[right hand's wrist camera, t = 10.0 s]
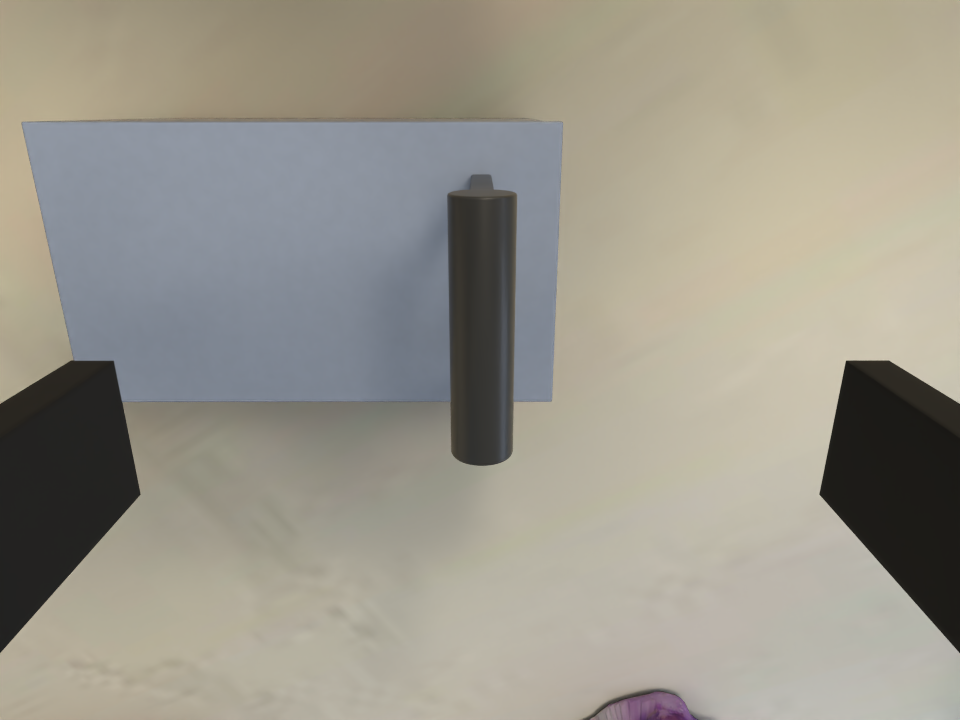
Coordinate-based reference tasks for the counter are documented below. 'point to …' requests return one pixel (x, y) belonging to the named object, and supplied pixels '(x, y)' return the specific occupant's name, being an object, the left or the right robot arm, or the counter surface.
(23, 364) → the counter surface
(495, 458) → the lid
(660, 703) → the figurine
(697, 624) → the counter surface
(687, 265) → the counter surface
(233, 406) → the counter surface
